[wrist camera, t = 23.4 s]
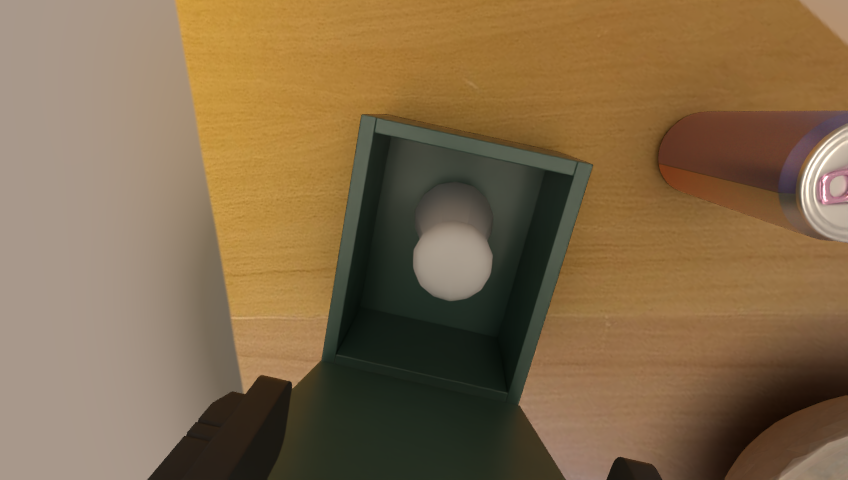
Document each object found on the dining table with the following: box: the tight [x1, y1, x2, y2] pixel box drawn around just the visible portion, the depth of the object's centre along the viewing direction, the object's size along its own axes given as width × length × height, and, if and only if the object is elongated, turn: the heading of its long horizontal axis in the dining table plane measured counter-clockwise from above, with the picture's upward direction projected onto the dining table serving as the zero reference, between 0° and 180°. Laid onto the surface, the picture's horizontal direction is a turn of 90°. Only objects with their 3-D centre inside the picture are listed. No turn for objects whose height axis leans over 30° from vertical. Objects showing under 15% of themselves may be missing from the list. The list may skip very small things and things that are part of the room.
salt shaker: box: [413, 182, 493, 301], centre depth 29 cm, size 6×6×13 cm
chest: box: [321, 114, 593, 405], centre depth 33 cm, size 17×14×9 cm
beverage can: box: [658, 111, 848, 243], centre depth 27 cm, size 6×6×15 cm
